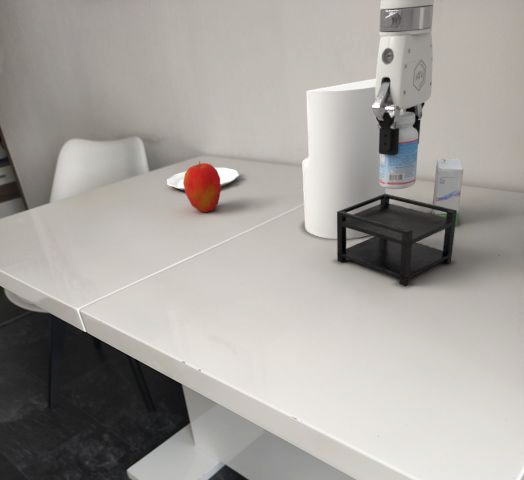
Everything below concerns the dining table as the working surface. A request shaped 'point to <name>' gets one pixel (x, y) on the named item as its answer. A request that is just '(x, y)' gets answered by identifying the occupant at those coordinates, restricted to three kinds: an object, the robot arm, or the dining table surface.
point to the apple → (202, 186)
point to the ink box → (447, 185)
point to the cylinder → (340, 155)
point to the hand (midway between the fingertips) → (399, 148)
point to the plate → (224, 173)
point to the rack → (395, 236)
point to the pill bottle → (401, 156)
